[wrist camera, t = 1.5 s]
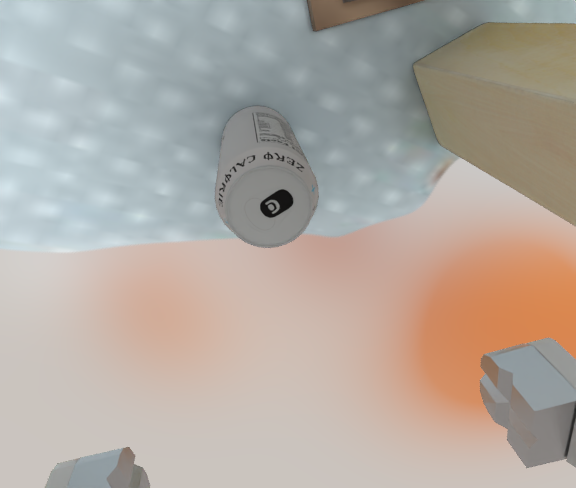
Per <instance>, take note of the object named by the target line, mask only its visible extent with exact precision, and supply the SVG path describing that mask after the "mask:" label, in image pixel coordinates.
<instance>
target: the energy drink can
mask: <svg viewBox="0 0 576 488" xmlns="http://www.w3.org/2000/svg"><path fill="white" fill-rule="evenodd" d="M318 197H319V196H318V185H317V181H316V177H315V175H314V173H313V171H312V169H311V167H310V165H309V163H308V161H307V159H306V157H305V155H304V153H303V152H302V150H301V148H300V146H299V144H298V142H297V140H296V138H295V136H294V134H293V132H292V130H291V128H290V126H289V124H288V122H287V121H286V120H285V118H284V117H283V116H282V115H281V114H279V113H278V112H277V111H275V110H273V109H271V108H268V107H264V106H250V107H247V108H244V109H242V110H240V111H238V112H237V113H235V114H234V115H233V116H232V117H231V118H230V120H229V121H228V122H227V124H226V126H225V128H224V131H223V135H222V141H221V149H220V157H219V164H218V172H217V179H216V187H215V202H216V208H217V210H218V213H219V215H220V217H221V219H222V220H223V222H224V223H225V225H226V226H227V227H228V228H229V229H230V230H231V231H232V232H234V233H235V234H236V235H237V236H238V237H239V238H240V239H242V240H243V241H244V242H246V243H248V244H251V245H253V246H257V247H263V248H264V247H265V248H271V247H279V246H282V245H285V244H287V243H289V242H291V241H293V240H295V239H296V238H297V237H299V236H300V235H301V234H302V232H303V231H304V230H305V229H306V227H307V226H308V224H309V222H310V220H311V218H312V216H313V215H314V212H315V210H316V207H317V203H318Z"/></svg>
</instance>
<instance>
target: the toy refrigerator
mask: <svg viewBox="0 0 576 488" xmlns="http://www.w3.org/2000/svg"><path fill="white" fill-rule="evenodd" d="M413 69H414V73H415V76H416V79H417V82H418V85H419V88H420V91H421V94H422V97H423V100H424V102H425V105H426V108H427V111H428V114H429V117H430V120H431V123H432V126H433V129H434V132H435V135H436V137H437V140H438V142H439V144H440V145H441V146H442V147H444V148H446V149H447V150H449V151H451V152H452V153H454V154H456V155H457V156H459V157H461V158H462V159H464V160H466V161H467V162H469V163H471V164H473V165H474V166H476V167H478V168H479V169H481V170H482V171H484V172H486V173H488V174H489V175H491V176H493V177H494V178H496V179H498V180H499V181H501V182H503V183H505V184H506V185H508V186H510V187H511V188H513V189H515V190H516V191H518V192H520V193H521V194H523V195H525V196H526V197H528V198H530V199H531V200H533V201H535V202H536V203H538V204H539V205H541V206H543V207H544V208H546V209H548V210H550V211H551V212H553V213H554V214H556V215H558V216H559V217H561V218H563V219H564V220H566V221H568V222H569V223H571V224H572V225H574V226H576V24H568V23H492V22H488V23H485V24H482V25H480V26H478V27H477V28H475V29H473V30H471V31H469V32H467V33H465V34H464V35H462V36H460V37H459V38H457V39H455V40H453V41H452V42H450V43H448V44H446V45H445V46H443V47H441V48H439V49H438V50H436V51H434V52H432V53H431V54H429V55H427V56H425V57H424V58H422V59H420V60H419V61H417V62H415V63H414V64H413Z"/></svg>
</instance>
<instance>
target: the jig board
mask: <svg viewBox="0 0 576 488" xmlns="http://www.w3.org/2000/svg"><path fill="white" fill-rule="evenodd" d="M420 1H424V0H307V2H308V8H309V13H310V18H311V23H312V28H313V31H319V30H322V29H326V28H329V27H333V26H336V25H340V24H343V23H347V22H350V21H354V20H357V19H361V18H364V17H368V16H371V15H375V14H378V13H382V12H385V11H389V10H392V9H396V8H399V7H403V6H406V5H410V4H413V3H417V2H420Z"/></svg>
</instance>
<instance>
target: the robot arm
mask: <svg viewBox="0 0 576 488" xmlns="http://www.w3.org/2000/svg"><path fill="white" fill-rule="evenodd" d="M481 368H482V369H483V371H484V372H485V373H486V374H485V375H484V376H483V377H482V379H481V380H480V392H481V396H482V399H483V402H484V405H485V406H486V408H487V410H488V412H489V414H490V415H491V417H492V418H493V420H494V421H495V422H496V423H498V424H499V425H501V426H503V427H505V428H507V429H508V435H507V440H508V442H509V443H510V445H511V446H512V448H513V449H514V450H515V452H516V453H517V455H518V456H519V458H520V459H521V460H522V462H523V463H524V465H525V466H526V468H529V467H533V466H537V465H542V464H546V463H550V462H554V461H559V460H563V459H567V460H566V461H567V462H568V463H570V464H571V465H573V466H574V467H576V359H574V358H573V357H572V356H571V355H570V354H569V353H568V352H567V351H566V350H565V349H564V348H563V347H562V346H561V345H559V344H558V343H557V342H556V341H555V340H553V339H551V338H545V339H542V340H538V341H534V342H530V343H527V344H520V345H517V346H513V347H509V348H506V349H502V350H498V351H495V352H491V353H487V354H484V355H483V357H482V358H481ZM134 459H135V455H134V454H133V452H132V450H131V449H130V448H129V447H126V448H121V449H117V450H112V451H109V452H104V453H100V454H95V455H91V456H86V457H82V458H78V459H74V460H70V461H66V462H62V463H58V464H57V465H56V466H55V468H54V469H53V470H52V471H51V473H50V476H49V479H48V481H47V484H46V486H45V488H150V483H149V480H148V477H147V474H146V472H145V470H144V469H143V468H142V467H140V466H137V465H135V464H134Z"/></svg>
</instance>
